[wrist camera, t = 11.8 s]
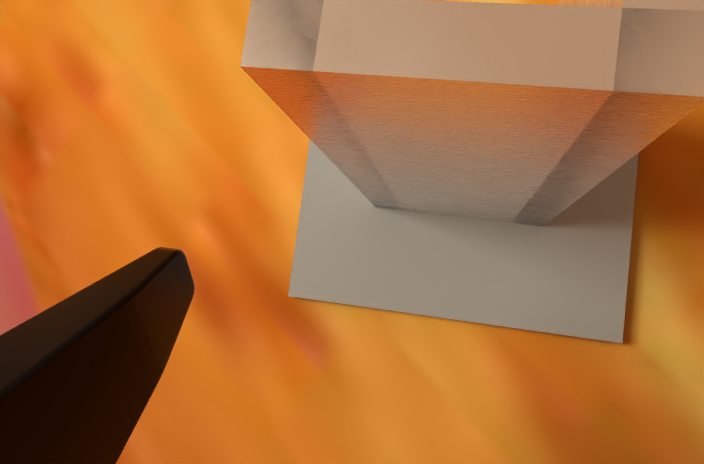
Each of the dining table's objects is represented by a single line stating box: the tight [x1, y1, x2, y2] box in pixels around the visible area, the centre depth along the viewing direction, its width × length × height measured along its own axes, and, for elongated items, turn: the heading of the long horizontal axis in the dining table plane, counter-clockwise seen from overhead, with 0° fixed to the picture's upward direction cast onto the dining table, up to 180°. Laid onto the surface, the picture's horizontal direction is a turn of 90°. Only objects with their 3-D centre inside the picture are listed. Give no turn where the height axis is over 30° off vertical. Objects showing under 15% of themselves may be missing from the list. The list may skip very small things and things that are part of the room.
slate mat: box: [288, 139, 639, 343], centre depth 19 cm, size 11×11×1 cm
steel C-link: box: [241, 0, 704, 227], centre depth 13 cm, size 4×6×12 cm
